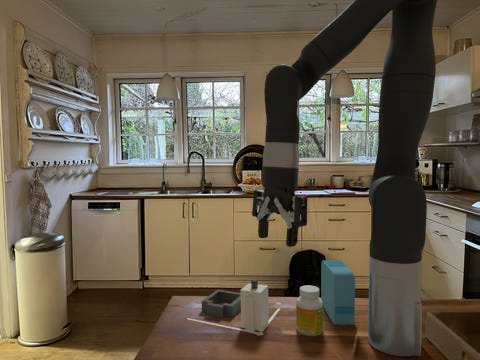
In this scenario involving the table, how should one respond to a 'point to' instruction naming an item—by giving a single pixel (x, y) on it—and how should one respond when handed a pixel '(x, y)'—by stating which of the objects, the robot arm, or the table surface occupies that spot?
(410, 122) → the robot arm
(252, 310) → the plug
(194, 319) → the header board
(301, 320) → the supplement bottle
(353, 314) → the data package
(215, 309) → the frame
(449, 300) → the table surface
